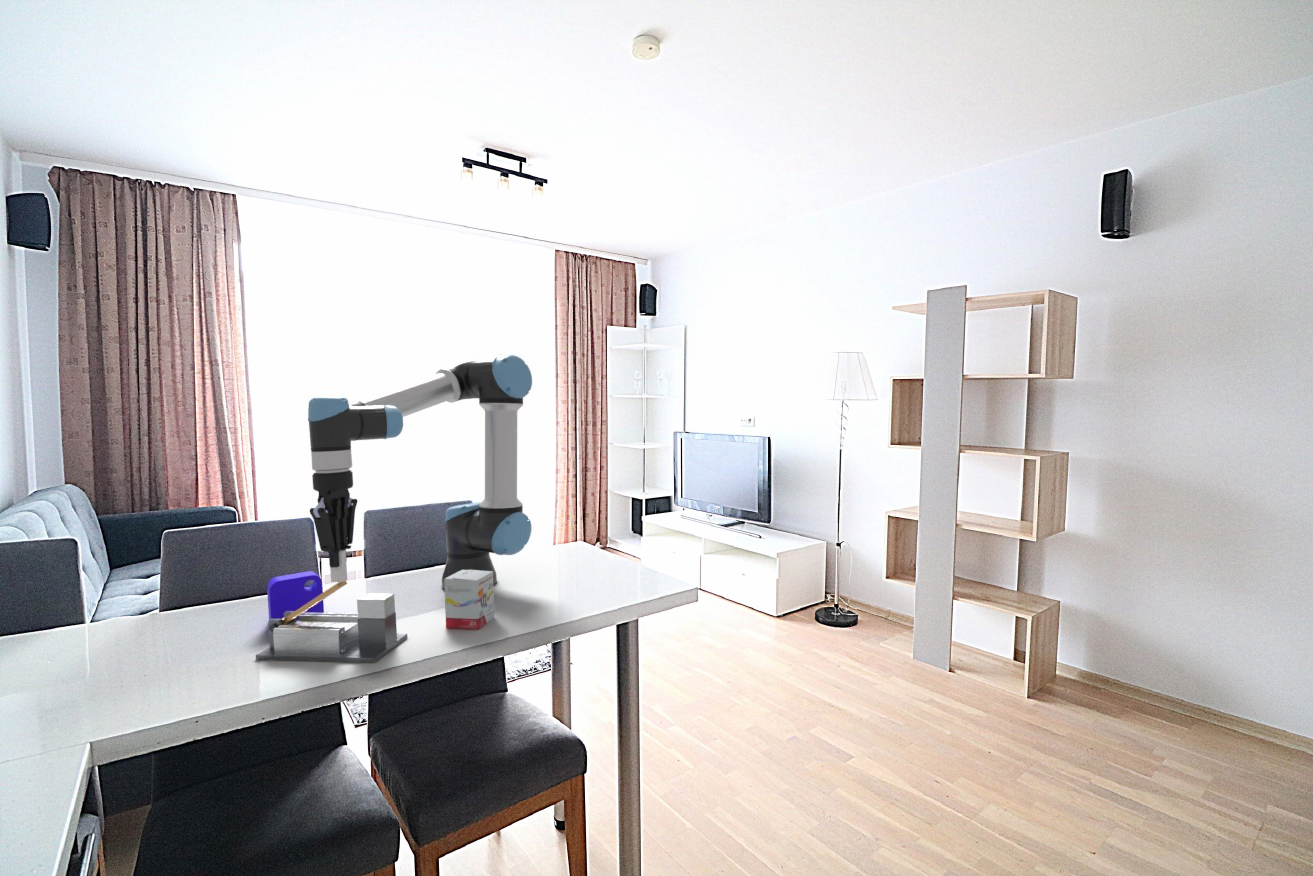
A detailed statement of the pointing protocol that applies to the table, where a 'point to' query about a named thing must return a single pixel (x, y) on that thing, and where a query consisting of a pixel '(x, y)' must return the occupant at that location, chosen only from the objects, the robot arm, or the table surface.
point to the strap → (312, 603)
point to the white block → (376, 606)
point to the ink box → (469, 599)
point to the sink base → (359, 652)
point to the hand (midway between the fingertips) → (339, 580)
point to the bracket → (293, 594)
